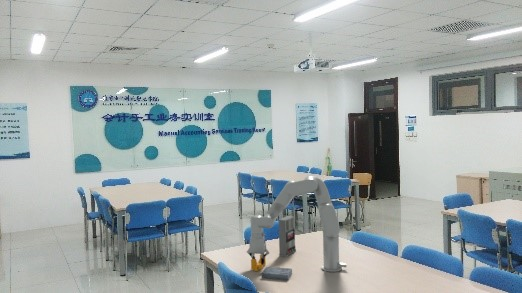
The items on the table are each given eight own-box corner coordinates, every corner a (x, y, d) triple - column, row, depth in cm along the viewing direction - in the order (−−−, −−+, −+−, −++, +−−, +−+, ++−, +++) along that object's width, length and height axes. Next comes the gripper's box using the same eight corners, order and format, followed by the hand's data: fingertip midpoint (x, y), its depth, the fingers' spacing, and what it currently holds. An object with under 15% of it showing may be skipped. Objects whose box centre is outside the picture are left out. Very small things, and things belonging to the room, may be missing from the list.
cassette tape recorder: (287, 256, 276) (286, 220, 275) (279, 255, 279) (278, 219, 278) (296, 251, 288) (295, 216, 287) (288, 250, 291) (287, 215, 290)
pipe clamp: (257, 271, 250) (256, 260, 249) (251, 269, 252) (251, 259, 252) (267, 265, 260) (267, 255, 259) (262, 263, 262) (262, 254, 262)
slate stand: (292, 273, 244) (292, 268, 244) (288, 280, 234) (288, 275, 234) (266, 271, 249) (266, 266, 249) (261, 278, 239) (261, 273, 238)
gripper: (271, 234, 255) (272, 262, 256) (246, 233, 260) (247, 261, 261) (268, 237, 248) (269, 266, 249) (242, 236, 253) (243, 265, 254)
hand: (258, 263), depth 255 cm, fingers closed on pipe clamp, 4 cm apart
